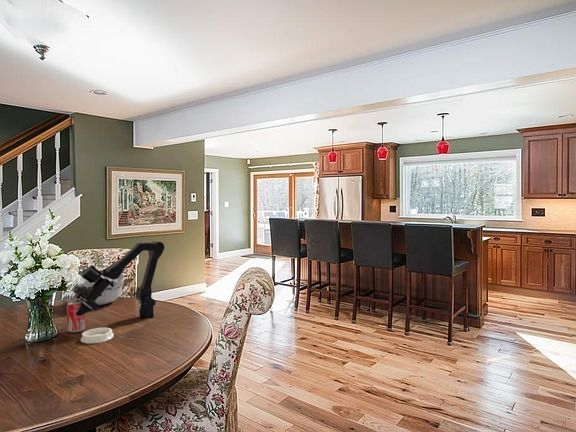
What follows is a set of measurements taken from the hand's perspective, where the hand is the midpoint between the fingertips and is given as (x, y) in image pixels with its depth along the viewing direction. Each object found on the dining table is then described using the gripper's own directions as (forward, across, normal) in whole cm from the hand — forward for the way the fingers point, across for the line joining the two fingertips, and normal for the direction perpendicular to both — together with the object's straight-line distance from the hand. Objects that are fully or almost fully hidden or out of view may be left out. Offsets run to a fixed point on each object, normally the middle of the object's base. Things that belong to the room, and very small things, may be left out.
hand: (72, 316), depth 184 cm
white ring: (+1, +16, +9) cm, 19 cm away
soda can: (+4, 0, +6) cm, 7 cm away
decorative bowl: (-12, -45, +22) cm, 51 cm away
